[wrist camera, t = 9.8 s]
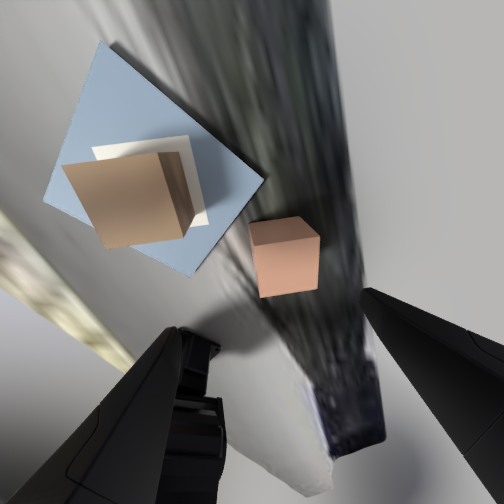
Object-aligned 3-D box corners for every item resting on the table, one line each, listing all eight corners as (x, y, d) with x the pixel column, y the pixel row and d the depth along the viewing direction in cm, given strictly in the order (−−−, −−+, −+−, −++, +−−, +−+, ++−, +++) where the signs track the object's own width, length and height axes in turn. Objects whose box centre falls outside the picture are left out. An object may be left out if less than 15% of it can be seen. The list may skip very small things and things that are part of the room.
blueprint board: (191, 274, 21) (189, 277, 20) (49, 199, 16) (42, 200, 15) (263, 178, 17) (264, 179, 16) (105, 44, 12) (99, 39, 12)
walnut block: (195, 215, 17) (183, 238, 13) (138, 223, 17) (105, 249, 13) (178, 151, 15) (157, 152, 10) (111, 160, 15) (60, 165, 10)
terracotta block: (299, 260, 21) (317, 288, 17) (253, 267, 21) (260, 297, 17) (298, 216, 19) (320, 236, 15) (248, 223, 19) (253, 246, 14)
